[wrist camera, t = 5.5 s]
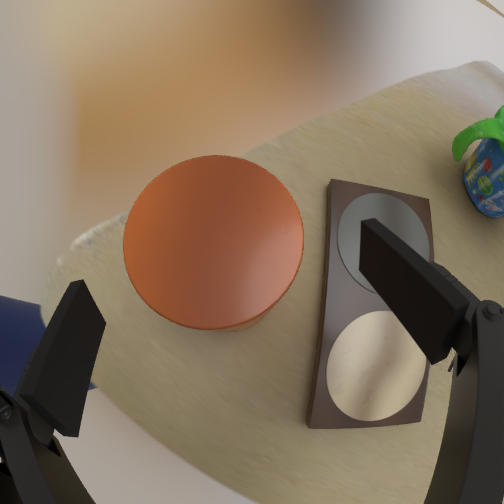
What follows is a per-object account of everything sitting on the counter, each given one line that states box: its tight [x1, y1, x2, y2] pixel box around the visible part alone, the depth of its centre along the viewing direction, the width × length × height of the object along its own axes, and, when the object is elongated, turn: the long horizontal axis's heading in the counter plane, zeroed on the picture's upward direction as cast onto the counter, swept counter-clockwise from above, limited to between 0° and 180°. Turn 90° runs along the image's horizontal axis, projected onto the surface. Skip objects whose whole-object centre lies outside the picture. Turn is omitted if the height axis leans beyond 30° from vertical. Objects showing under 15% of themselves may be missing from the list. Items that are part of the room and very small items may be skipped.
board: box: [306, 179, 434, 429], centre depth 21 cm, size 10×20×1 cm, turn 173°
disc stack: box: [123, 155, 304, 331], centre depth 16 cm, size 6×6×13 cm
